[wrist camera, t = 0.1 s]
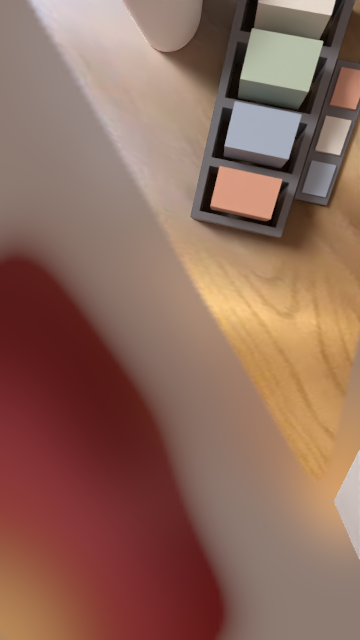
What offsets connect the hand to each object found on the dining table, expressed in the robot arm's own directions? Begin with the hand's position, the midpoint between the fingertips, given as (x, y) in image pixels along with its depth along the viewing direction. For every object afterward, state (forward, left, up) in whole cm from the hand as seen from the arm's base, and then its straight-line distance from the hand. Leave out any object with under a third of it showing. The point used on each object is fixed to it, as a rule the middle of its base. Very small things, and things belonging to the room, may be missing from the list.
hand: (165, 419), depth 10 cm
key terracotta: (-11, +2, -25) cm, 27 cm away
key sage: (-22, +2, -25) cm, 33 cm away
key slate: (-16, +2, -25) cm, 30 cm away
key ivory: (-27, +2, -25) cm, 37 cm away
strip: (-19, +9, -28) cm, 35 cm away
